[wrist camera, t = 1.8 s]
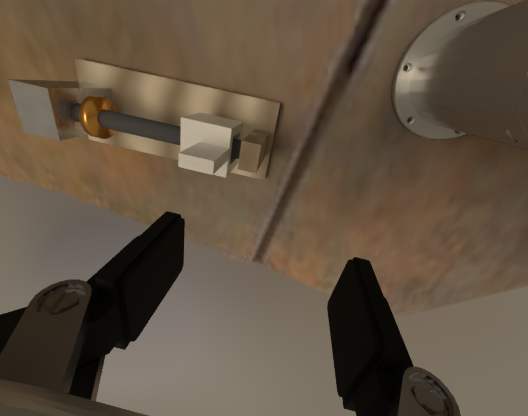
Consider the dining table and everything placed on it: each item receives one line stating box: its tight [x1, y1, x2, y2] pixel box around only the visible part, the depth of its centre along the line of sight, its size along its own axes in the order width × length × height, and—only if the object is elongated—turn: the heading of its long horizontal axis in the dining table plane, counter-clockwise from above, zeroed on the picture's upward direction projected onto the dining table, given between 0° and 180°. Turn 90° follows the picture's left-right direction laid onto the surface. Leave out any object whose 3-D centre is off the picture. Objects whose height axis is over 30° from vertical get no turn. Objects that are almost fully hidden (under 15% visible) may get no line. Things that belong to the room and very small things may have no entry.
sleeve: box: [179, 112, 243, 177], centre depth 23 cm, size 5×5×10 cm
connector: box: [8, 79, 117, 141], centre depth 27 cm, size 7×5×8 cm
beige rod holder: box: [75, 58, 281, 180], centre depth 28 cm, size 26×10×9 cm, turn 79°
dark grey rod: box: [71, 103, 242, 159], centre depth 25 cm, size 21×2×2 cm, turn 79°
